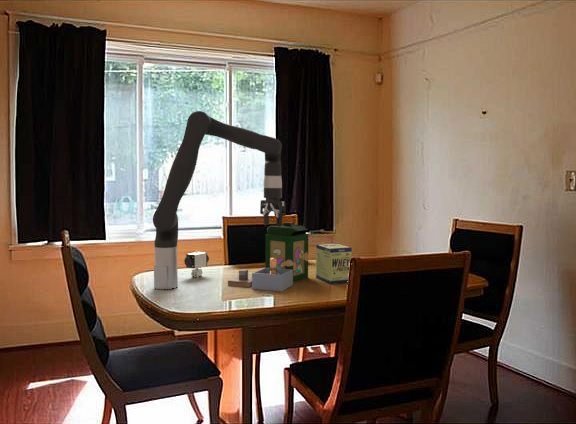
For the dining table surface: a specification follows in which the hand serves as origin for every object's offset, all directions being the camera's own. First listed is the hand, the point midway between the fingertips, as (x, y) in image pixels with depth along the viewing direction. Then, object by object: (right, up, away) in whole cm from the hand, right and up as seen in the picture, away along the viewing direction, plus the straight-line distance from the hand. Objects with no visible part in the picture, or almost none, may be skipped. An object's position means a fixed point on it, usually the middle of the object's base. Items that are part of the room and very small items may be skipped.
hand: (272, 225), depth 235 cm
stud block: (-13, -25, +8) cm, 29 cm away
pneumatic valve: (-36, -24, +24) cm, 49 cm away
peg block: (0, -25, +2) cm, 25 cm away
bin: (0, -26, +2) cm, 26 cm away
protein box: (+27, -25, +17) cm, 40 cm away
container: (+6, -25, +20) cm, 32 cm away
